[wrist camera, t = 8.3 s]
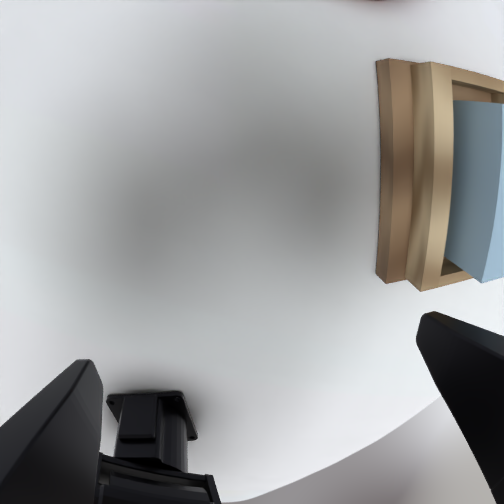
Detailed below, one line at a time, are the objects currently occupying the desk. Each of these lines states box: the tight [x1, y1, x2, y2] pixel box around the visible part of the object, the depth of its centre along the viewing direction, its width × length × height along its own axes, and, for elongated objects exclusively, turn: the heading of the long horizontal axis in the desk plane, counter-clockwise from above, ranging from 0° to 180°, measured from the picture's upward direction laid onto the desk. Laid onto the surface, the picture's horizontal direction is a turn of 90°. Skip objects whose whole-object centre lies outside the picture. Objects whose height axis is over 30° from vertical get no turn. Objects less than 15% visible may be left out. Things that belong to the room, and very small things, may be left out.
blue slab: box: [444, 100, 504, 283], centre depth 15 cm, size 10×4×6 cm, turn 4°
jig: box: [376, 58, 504, 292], centre depth 18 cm, size 14×12×4 cm
